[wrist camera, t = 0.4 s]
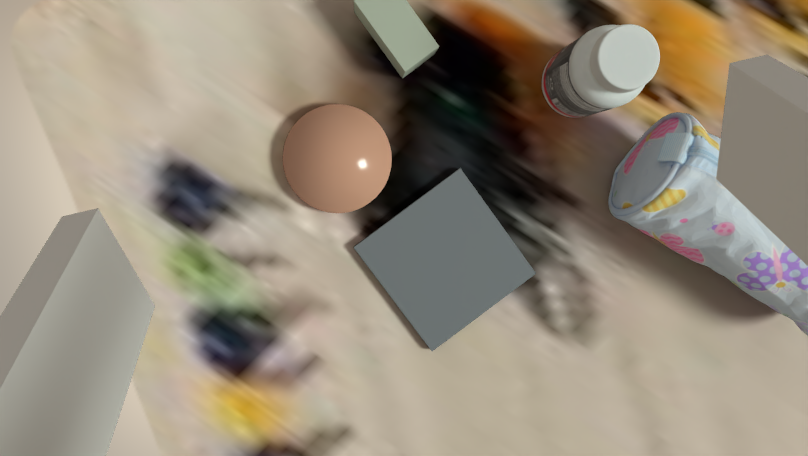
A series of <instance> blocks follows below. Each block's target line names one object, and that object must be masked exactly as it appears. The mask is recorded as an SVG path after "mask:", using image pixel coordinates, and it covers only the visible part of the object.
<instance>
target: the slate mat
mask: <svg viewBox="0 0 808 456" xmlns="http://www.w3.org/2000/svg"><path fill="white" fill-rule="evenodd" d="M354 249H355V250H356V251H357V253H358V254H359V255H360V257H361V258H362V259H363V261H364V262H365V263H366V265H367V266H368V267H369V269H370V270H371V271H372V273H373V274H374V275H375V277H376V278H377V279H378V281H379V282H380V283H381V285H382V286H383V287H384V289H385V290H386V291H387V292H388V294H389V295H390V296H391V298H392V299H393V300H394V302H395V303H396V304H397V306H398V307H399V308H400V310H401V311H402V312H403V314H404V315H405V316H406V318H407V319H408V320H409V322H410V323H411V324H412V326H413V327H414V328H415V330H416V331H417V332H418V334H419V335H420V336H421V338H422V339H423V340H424V342H425V343H426V344H427V346H428V347H429V348H430V350H431V351H433V350H435V349H436V348H437V347H439V346H440V345H441V344H443V343H444V342H445V341H447V340H448V339H449V338H451V337H452V336H453V335H455V334H456V333H457V332H459V331H460V330H461V329H463V328H464V327H465V326H467V325H468V324H469V323H471V322H472V321H473V320H475V319H476V318H477V317H479V316H480V315H481V314H483V313H484V312H485V311H487V310H488V309H489V308H491V307H492V306H493V305H495V304H496V303H497V302H499V301H500V300H501V299H503V298H504V297H505V296H507V295H508V294H509V293H511V292H512V291H513V290H515V289H516V288H517V287H519V286H520V285H521V284H523V283H524V282H525V281H527V280H528V279H529V278H531V277H532V276H533V275H535V274H536V273H535V271H534V270H533V269H532V267H531V266H530V264H529V263H528V262H527V260H526V259H525V257H524V256H523V255H522V253H521V252H520V251H519V249H518V248H517V246H516V245H515V244H514V242H513V241H512V239H511V238H510V237H509V235H508V234H507V232H506V231H505V230H504V228H503V227H502V226H501V224H500V223H499V221H498V220H497V219H496V217H495V216H494V214H493V213H492V212H491V210H490V209H489V207H488V206H487V205H486V203H485V202H484V201H483V199H482V198H481V196H480V195H479V194H478V192H477V191H476V189H475V188H474V187H473V185H472V184H471V182H470V181H469V180H468V178H467V177H466V176H465V174H464V173H463V171H462V170H461V169H458V170H456V171H455V172H454V173H452V174H451V175H450V176H448V177H447V178H446V179H444V180H443V181H442V182H440V183H439V184H438V185H436V186H435V187H434V188H432V189H431V190H430V191H428V192H427V193H425V194H424V195H423V196H421V197H420V198H419V199H417V200H416V201H415V202H413V203H412V204H411V205H409V206H408V207H407V208H405V209H404V210H403V211H401V212H400V213H399V214H397V215H396V216H395V217H393V218H392V219H391V220H389V221H388V222H386V223H385V224H384V225H382V226H381V227H380V228H378V229H377V230H376V231H374V232H373V233H372V234H370V235H369V236H368V237H366V238H365V239H364V240H362V241H361V242H360V243H358V244H357V245H356V246H354Z"/></svg>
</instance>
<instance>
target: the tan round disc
mask: <svg viewBox="0 0 808 456" xmlns="http://www.w3.org/2000/svg"><path fill="white" fill-rule="evenodd" d="M391 162H392V157H391V149H390V144H389V141H388V138H387V136H386V134H385V132H384V131H383V129H382V127H381V126H380V125H379V124H378V123H377V121H376V120H375V119H373V118H372V117H371V116H370V115H368V114H367V113H366V112H364V111H362V110H360V109H358V108H355V107H352V106H348V105H342V104H330V105H325V106H321V107H318V108H315V109H313V110H311V111H309V112H308V113H306V114H305V115H304V116H302V117H301V118H300V119H299V120H298V121H297V122H296V123H295V124H294V126H293V127H292V129H291V130H290V132H289V134H288V136H287V138H286V141H285V144H284V149H283V167H284V172H285V175H286V178H287V180H288V182H289V184H290V186H291V188H292V189H293V191H294V192H295V193H296V194H297V195H298V197H300V198H301V199H302V200H303V201H304V202H306V203H307V204H308V205H310V206H312V207H314V208H316V209H319V210H321V211H325V212H330V213H345V212H351V211H354V210H357V209H359V208H361V207H364V206H365V205H367V204H368V203H370V202H371V201H372V200H373V199H375V198H376V197H377V195H378V194H379V193H380V192H381V191H382V189H383V188H384V186H385V184H386V182H387V180H388V177H389V174H390V170H391Z"/></svg>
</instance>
